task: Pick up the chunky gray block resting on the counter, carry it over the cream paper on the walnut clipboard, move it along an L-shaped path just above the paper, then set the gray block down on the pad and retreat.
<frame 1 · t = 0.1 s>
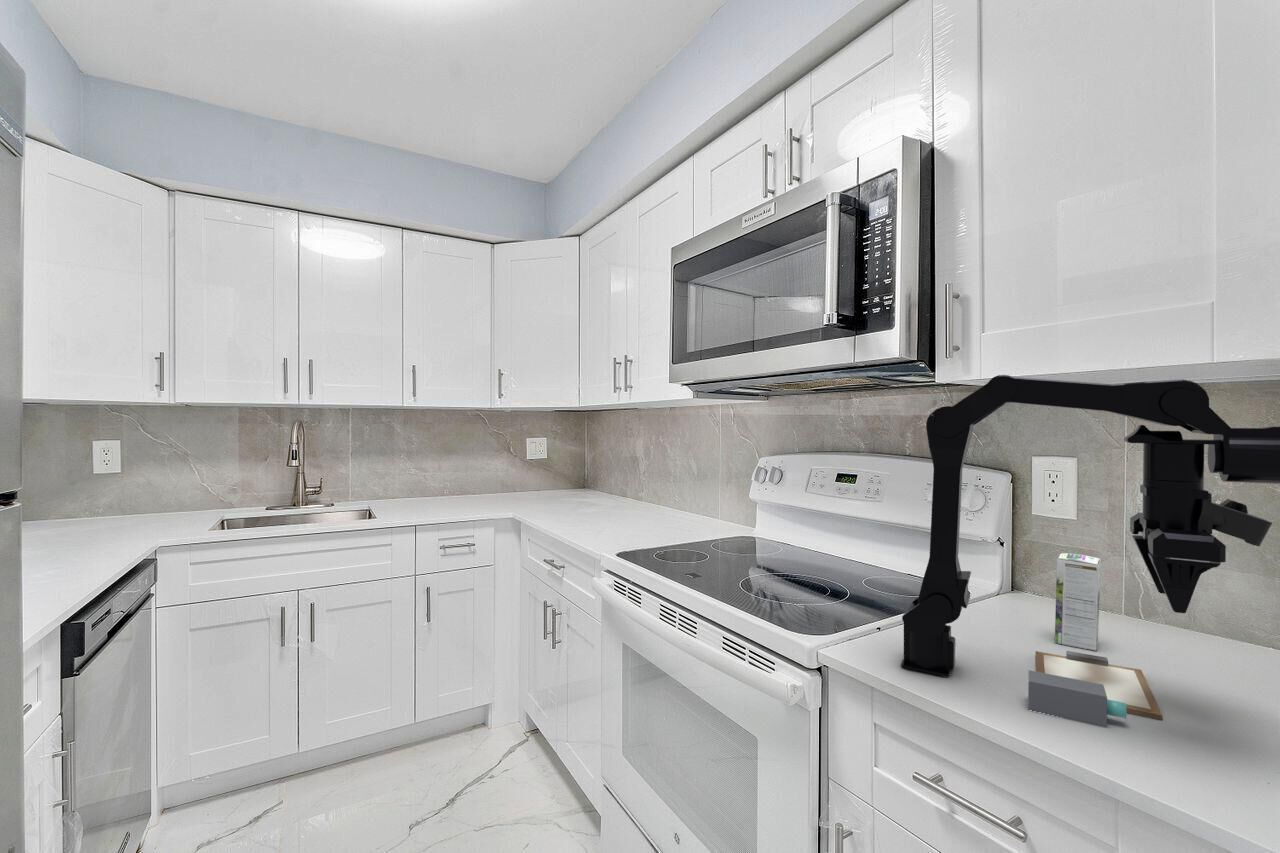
hand: (1171, 602, 75), 15 cm above the worktop, tool pointing down, fingers open, 9 cm apart
syrup box: (1077, 643, 99), on the worktop
gray block: (1075, 715, 75), on the worktop
clipboard: (1091, 683, 84), on the worktop
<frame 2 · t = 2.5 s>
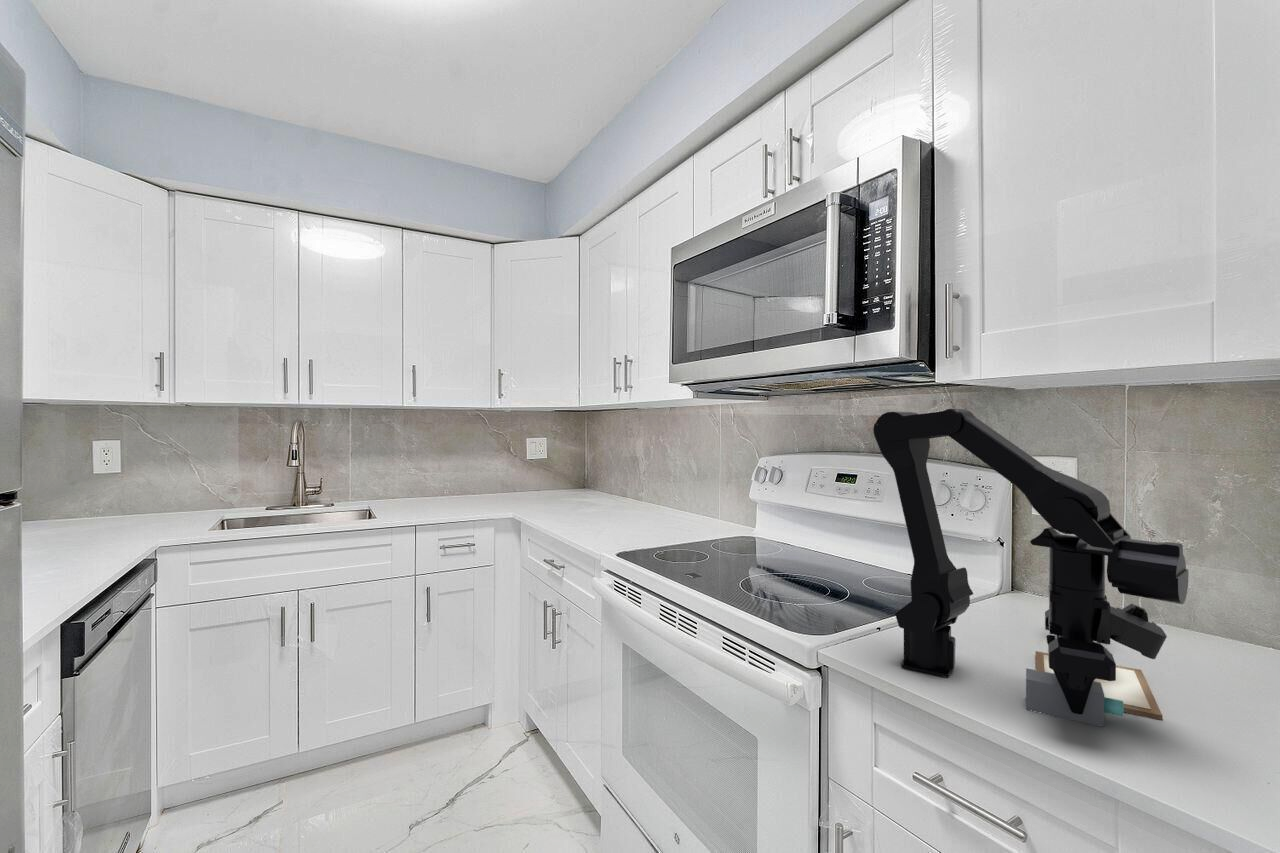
hand: (1075, 706, 75), 1 cm above the worktop, tool pointing down, fingers closed on gray block, 4 cm apart
gray block: (1072, 713, 75), on the worktop, touching gripper
everything else where it was.
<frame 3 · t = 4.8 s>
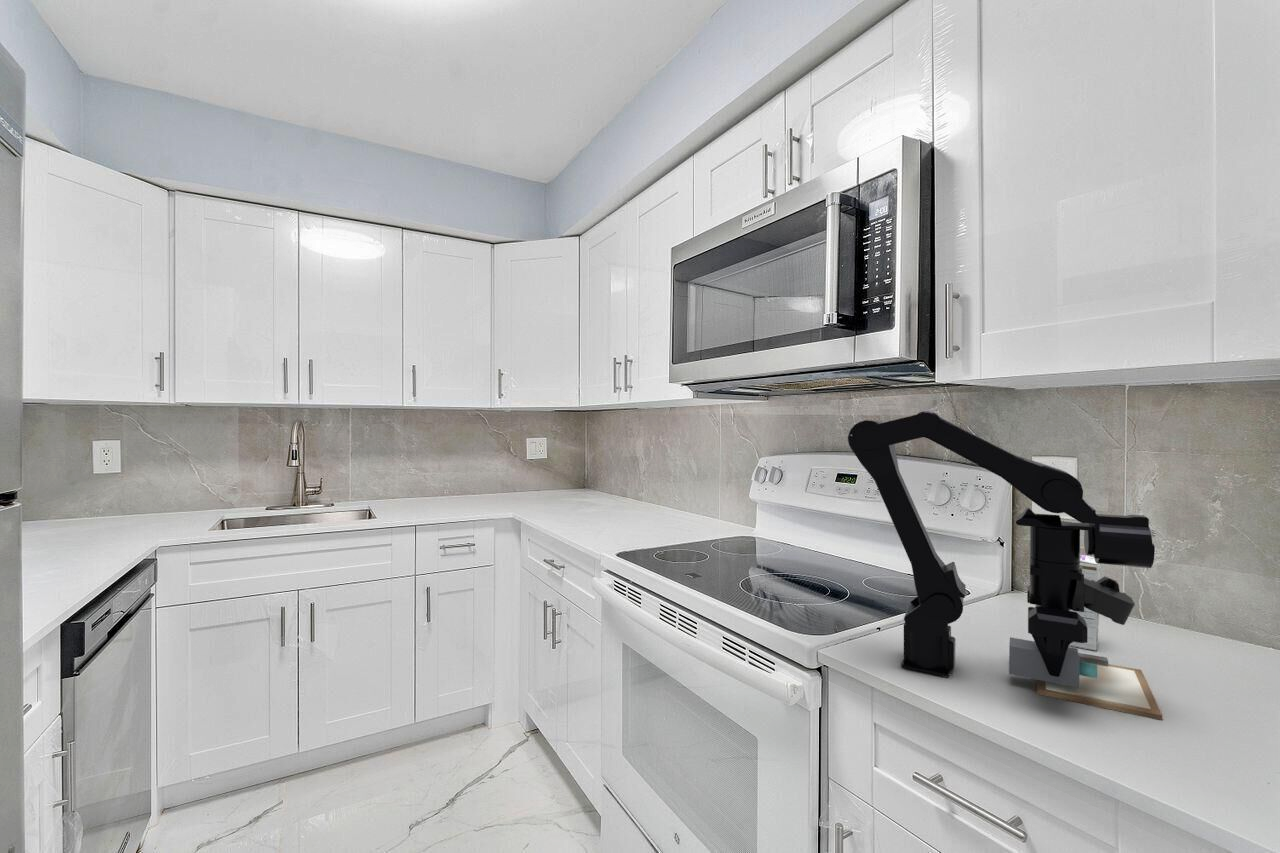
hand: (1053, 670, 82), 3 cm above the worktop, tool pointing down, fingers closed on gray block, 4 cm apart
gray block: (1051, 677, 82), point 2 cm above the worktop, touching gripper
everything else where it was.
when the fingers open (2 cm above the worktop, at t = 7.5 s): gray block stays where it is, resting on clipboard.
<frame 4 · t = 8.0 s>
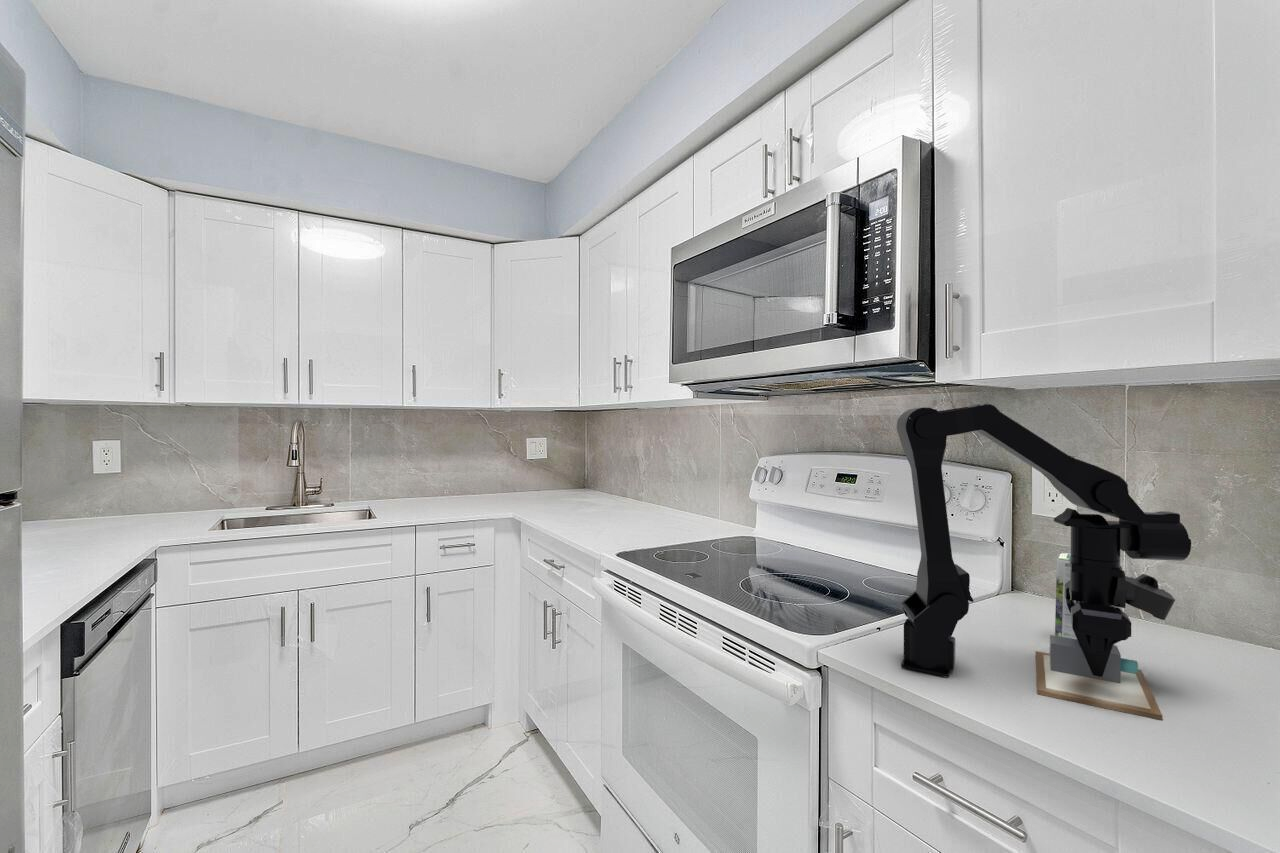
hand: (1094, 664, 85), 2 cm above the worktop, tool pointing down, fingers open, 9 cm apart
gray block: (1092, 673, 85), point 1 cm above the worktop, touching clipboard
everything else where it was.
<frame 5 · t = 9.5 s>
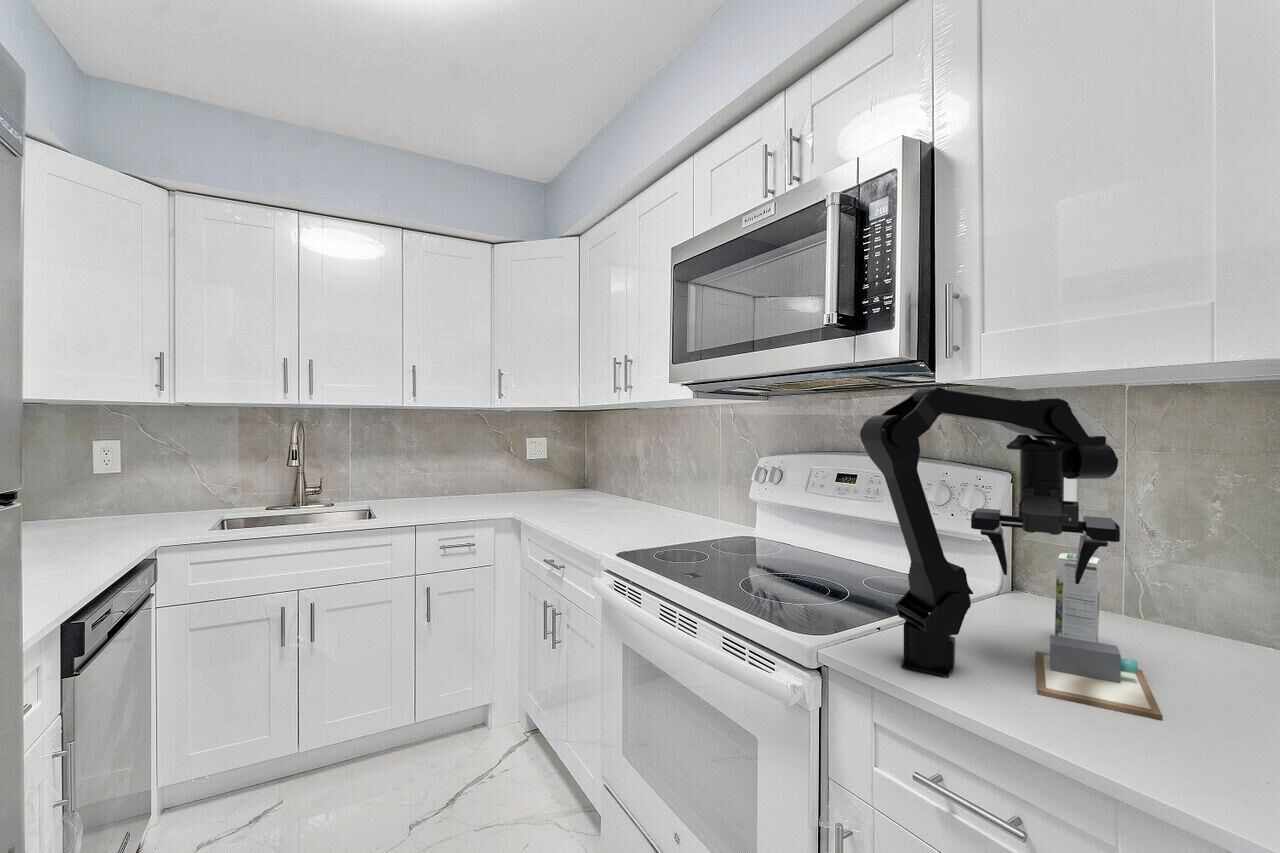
hand: (1040, 579, 92), 13 cm above the worktop, tool pointing down, fingers open, 9 cm apart
nothing on the worktop moved.
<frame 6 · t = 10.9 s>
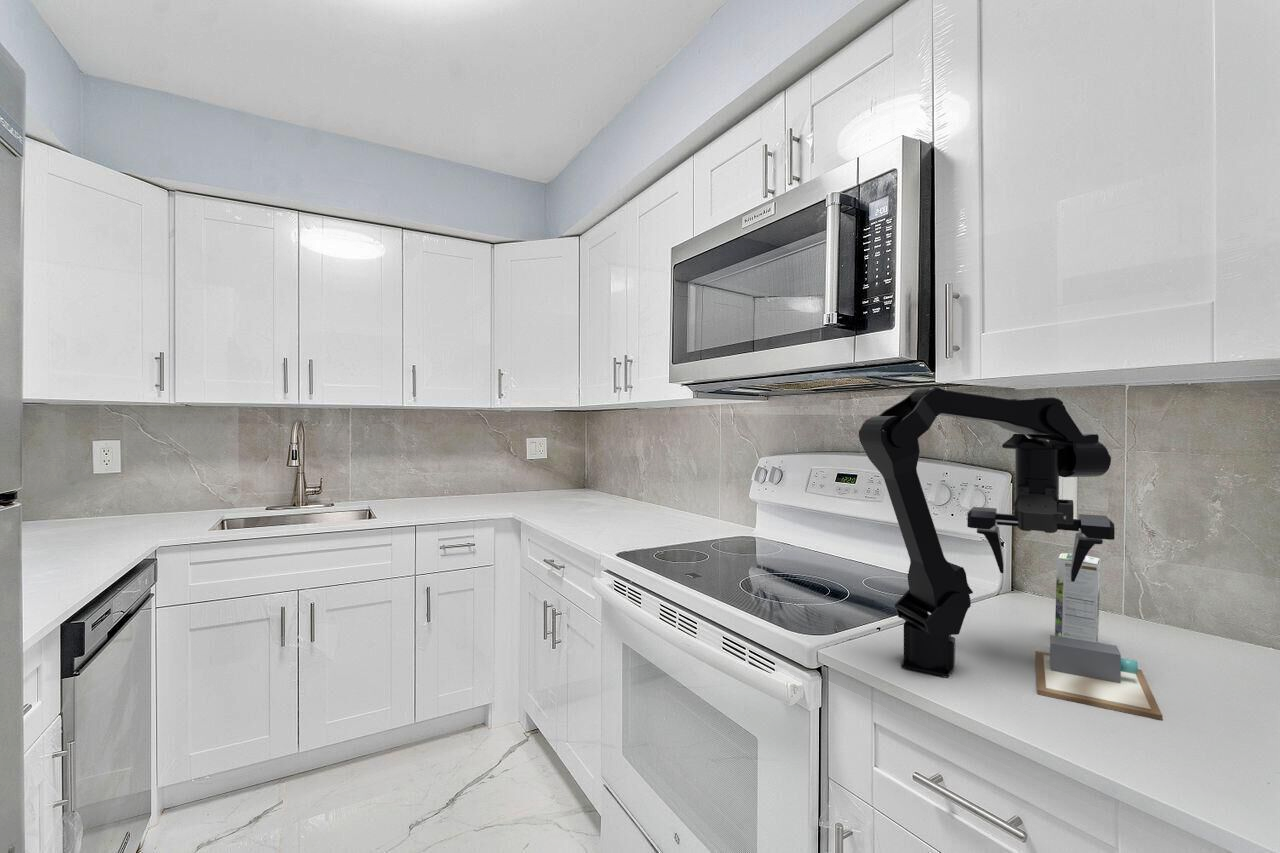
hand: (1036, 576, 92), 13 cm above the worktop, tool pointing down, fingers open, 9 cm apart
nothing on the worktop moved.
at the end: gray block inside the target area on the clipboard (2.0 cm from its centre), point 0.8 cm above the clipboard's base; the gripper is holding nothing; gray block touching clipboard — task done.
